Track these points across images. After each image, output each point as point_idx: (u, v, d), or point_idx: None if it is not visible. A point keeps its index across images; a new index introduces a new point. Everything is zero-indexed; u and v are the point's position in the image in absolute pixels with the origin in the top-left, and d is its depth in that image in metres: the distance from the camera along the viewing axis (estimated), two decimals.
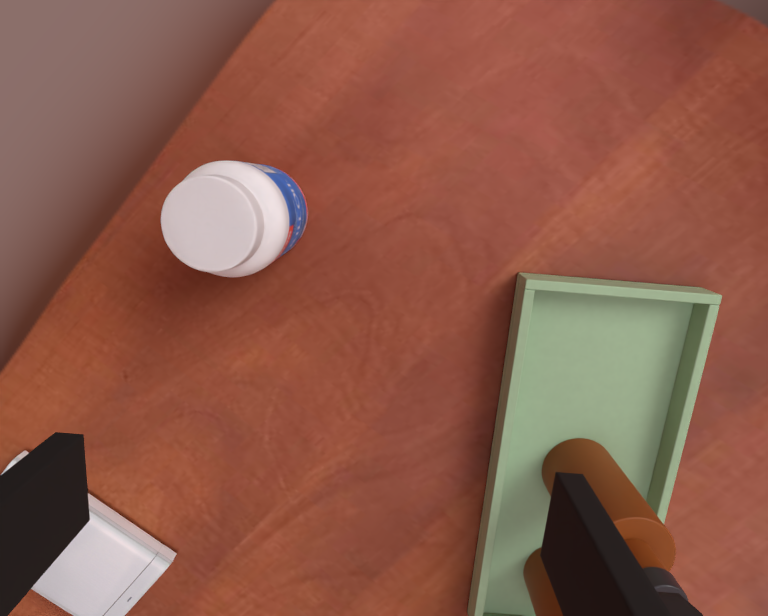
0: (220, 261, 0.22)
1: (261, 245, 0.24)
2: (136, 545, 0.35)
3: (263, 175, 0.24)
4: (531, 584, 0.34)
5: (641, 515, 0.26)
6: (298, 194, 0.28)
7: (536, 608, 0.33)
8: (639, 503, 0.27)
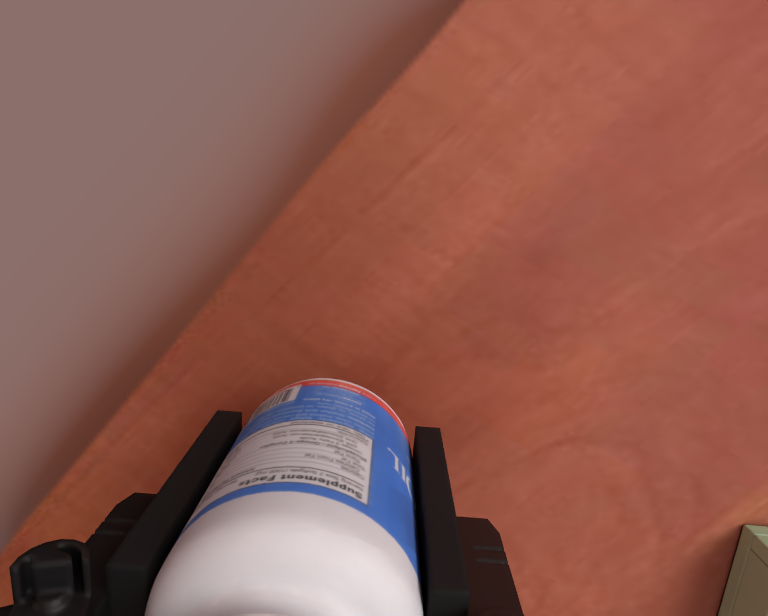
0: None
1: None
2: None
3: (373, 546, 0.09)
4: None
5: None
6: (406, 458, 0.14)
7: None
8: None
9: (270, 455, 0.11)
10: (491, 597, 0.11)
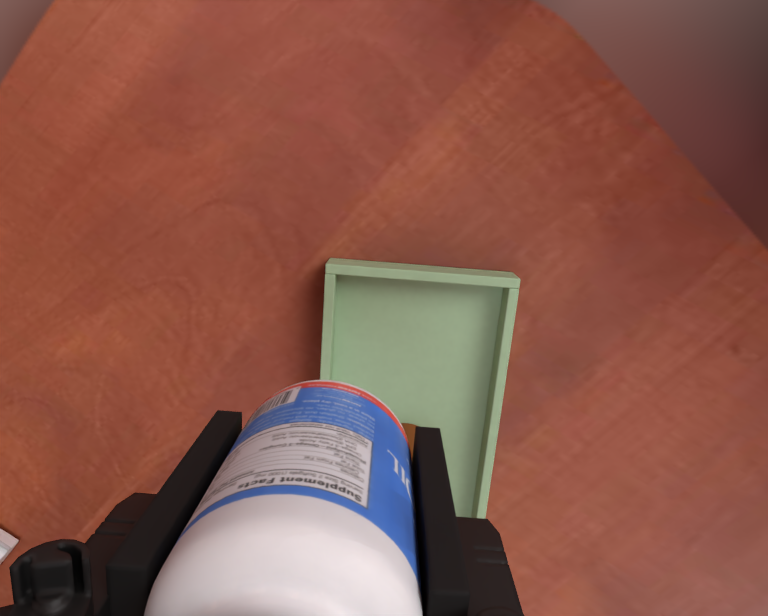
0: None
1: None
2: None
3: (373, 549, 0.09)
4: None
5: None
6: (406, 460, 0.14)
7: None
8: None
9: (269, 457, 0.11)
10: (491, 598, 0.11)
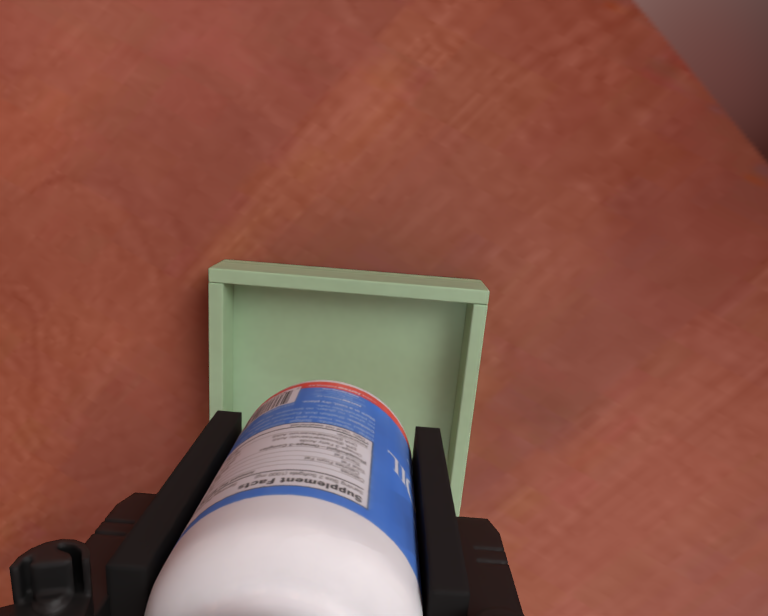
0: None
1: None
2: None
3: (373, 549, 0.09)
4: None
5: None
6: (406, 461, 0.14)
7: None
8: None
9: (270, 458, 0.11)
10: (491, 597, 0.11)
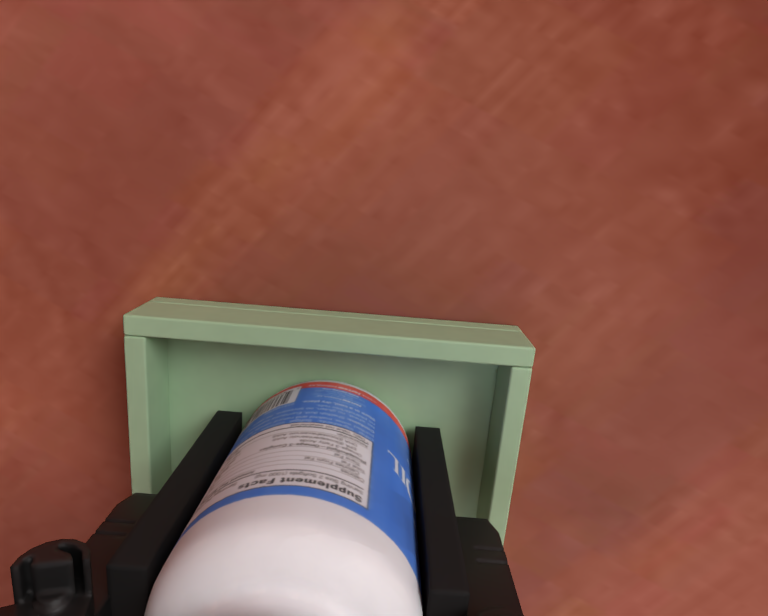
0: None
1: None
2: None
3: (373, 549, 0.09)
4: None
5: None
6: (406, 460, 0.14)
7: None
8: None
9: (270, 458, 0.11)
10: (491, 597, 0.11)
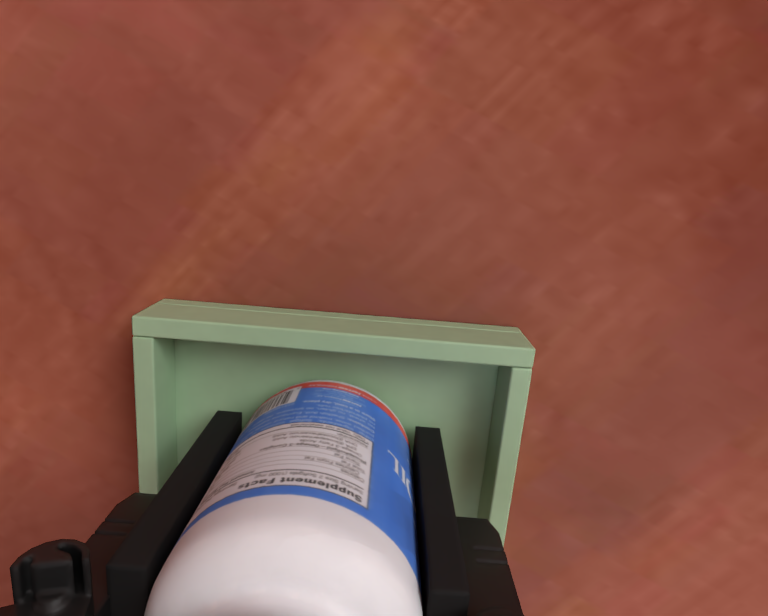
0: None
1: None
2: None
3: (373, 549, 0.09)
4: None
5: None
6: (406, 461, 0.14)
7: None
8: None
9: (270, 458, 0.11)
10: (490, 598, 0.11)
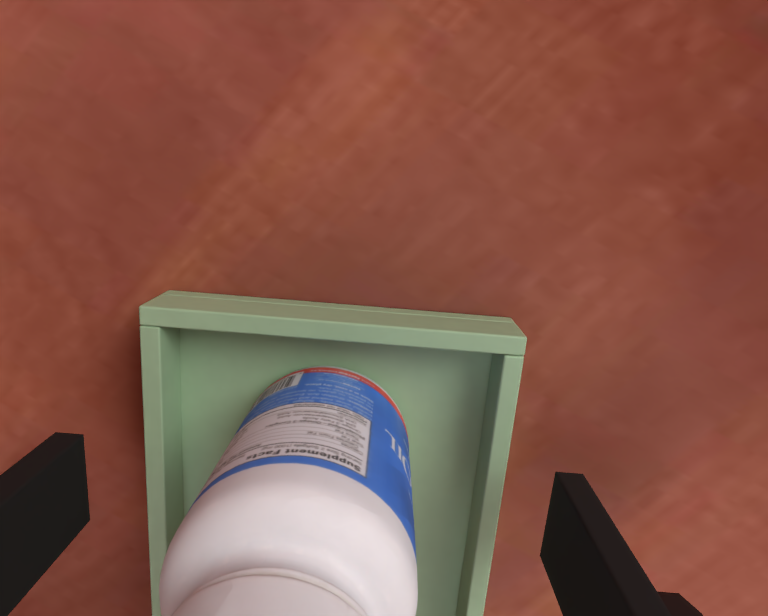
0: None
1: None
2: None
3: (371, 512, 0.10)
4: None
5: None
6: (403, 440, 0.15)
7: None
8: None
9: (275, 433, 0.12)
10: None
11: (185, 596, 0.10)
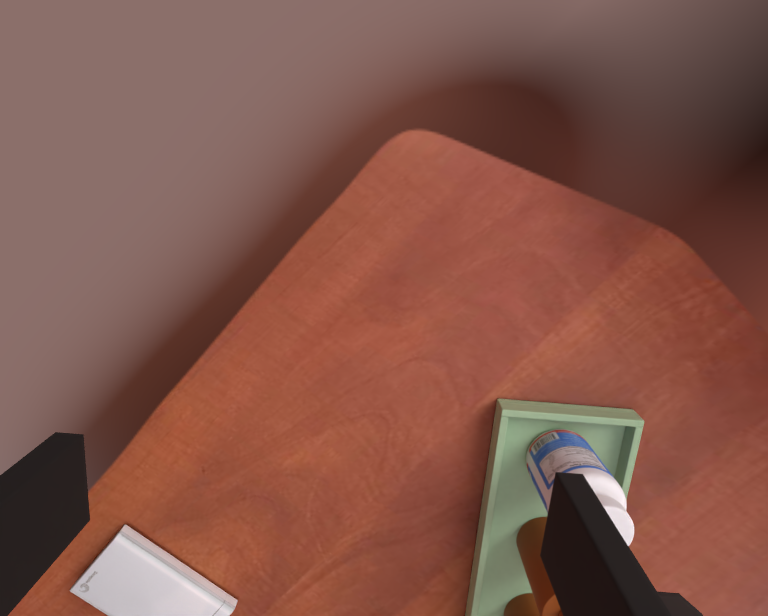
0: None
1: None
2: (209, 595, 0.46)
3: (615, 481, 0.36)
4: None
5: None
6: None
7: None
8: None
9: (572, 457, 0.38)
10: None
11: None
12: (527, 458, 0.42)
